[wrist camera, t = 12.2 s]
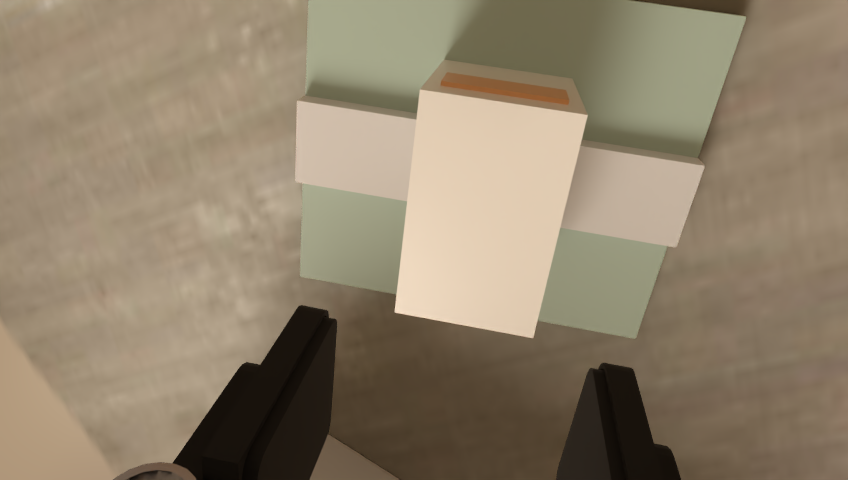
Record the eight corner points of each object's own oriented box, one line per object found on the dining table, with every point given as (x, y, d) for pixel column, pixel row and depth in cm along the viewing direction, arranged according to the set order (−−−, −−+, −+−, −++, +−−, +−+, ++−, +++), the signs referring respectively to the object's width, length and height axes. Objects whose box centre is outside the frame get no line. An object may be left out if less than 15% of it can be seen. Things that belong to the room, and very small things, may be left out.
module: (573, 74, 22) (589, 109, 17) (530, 260, 26) (533, 338, 21) (444, 55, 23) (420, 84, 17) (420, 241, 26) (394, 312, 21)
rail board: (739, 14, 21) (756, 18, 20) (632, 329, 28) (639, 351, 26) (316, -44, 23) (300, -45, 21) (305, 268, 29) (292, 286, 27)
